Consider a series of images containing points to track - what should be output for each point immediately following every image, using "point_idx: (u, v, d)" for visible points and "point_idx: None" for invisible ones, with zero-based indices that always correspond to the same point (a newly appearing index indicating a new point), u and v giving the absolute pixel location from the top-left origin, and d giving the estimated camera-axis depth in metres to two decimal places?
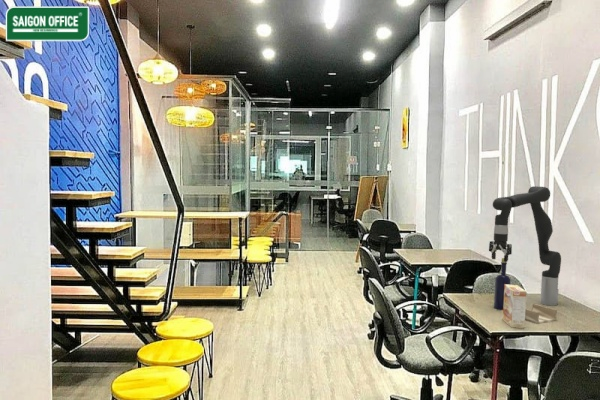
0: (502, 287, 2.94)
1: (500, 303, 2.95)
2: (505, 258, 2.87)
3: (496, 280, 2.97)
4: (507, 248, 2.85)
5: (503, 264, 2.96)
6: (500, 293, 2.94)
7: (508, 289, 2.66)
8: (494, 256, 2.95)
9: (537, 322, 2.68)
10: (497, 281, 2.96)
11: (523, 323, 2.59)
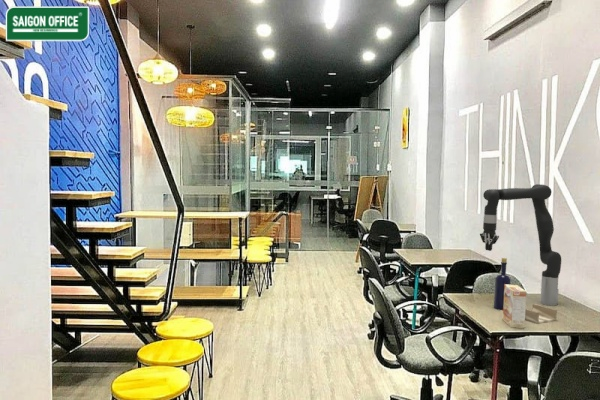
0: (502, 287, 2.94)
1: (500, 303, 2.95)
2: (489, 247, 3.06)
3: (496, 280, 2.97)
4: (493, 239, 3.02)
5: (503, 264, 2.96)
6: (500, 293, 2.94)
7: (508, 289, 2.66)
8: None
9: (537, 322, 2.68)
10: (497, 281, 2.96)
11: (523, 323, 2.59)
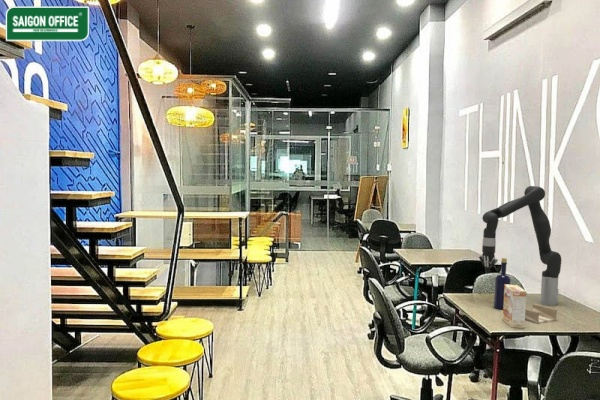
0: (502, 287, 2.94)
1: (500, 303, 2.95)
2: (487, 270, 3.07)
3: (496, 280, 2.97)
4: (492, 262, 3.03)
5: (503, 264, 2.96)
6: (500, 293, 2.94)
7: (508, 289, 2.66)
8: None
9: (537, 322, 2.68)
10: (497, 281, 2.96)
11: (523, 323, 2.59)
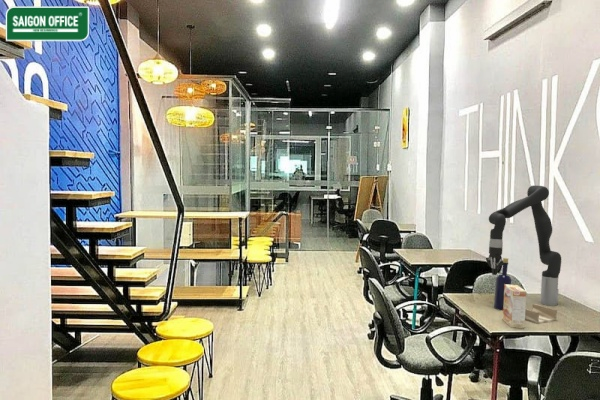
0: (503, 287, 2.93)
1: (501, 303, 2.95)
2: (494, 271, 3.02)
3: (497, 280, 2.96)
4: (499, 263, 2.99)
5: (504, 264, 2.95)
6: (501, 293, 2.94)
7: (508, 289, 2.66)
8: None
9: (537, 322, 2.68)
10: (498, 281, 2.95)
11: (523, 323, 2.59)
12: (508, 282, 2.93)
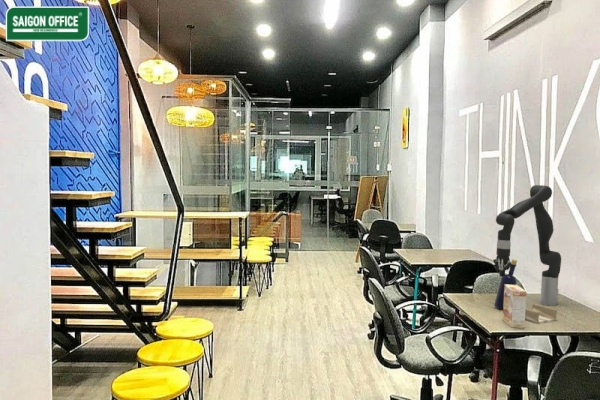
0: None
1: (502, 303, 2.94)
2: (502, 273, 2.97)
3: (502, 280, 2.93)
4: (507, 265, 2.93)
5: (512, 266, 2.90)
6: (503, 293, 2.92)
7: (508, 289, 2.66)
8: None
9: (537, 322, 2.68)
10: (503, 282, 2.92)
11: (523, 323, 2.59)
12: (513, 284, 2.90)
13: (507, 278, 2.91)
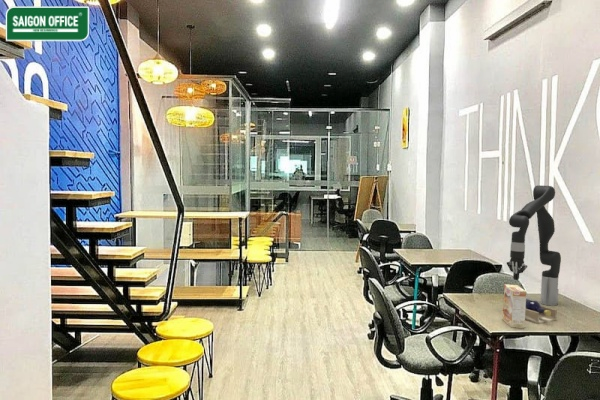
0: None
1: None
2: (516, 276, 2.88)
3: (533, 300, 2.79)
4: (521, 268, 2.85)
5: (543, 310, 2.69)
6: None
7: (508, 289, 2.66)
8: None
9: (537, 322, 2.68)
10: (531, 300, 2.80)
11: (523, 323, 2.59)
12: None
13: (532, 304, 2.76)
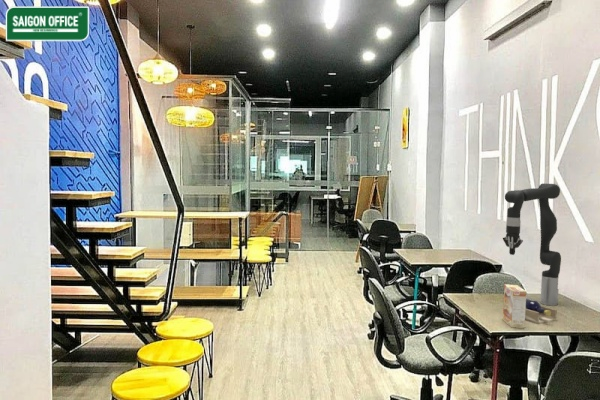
0: None
1: None
2: (512, 251, 2.93)
3: (533, 300, 2.79)
4: (517, 243, 2.89)
5: (543, 310, 2.69)
6: None
7: (508, 289, 2.66)
8: None
9: (537, 322, 2.68)
10: (531, 300, 2.80)
11: (523, 323, 2.59)
12: None
13: (532, 304, 2.76)
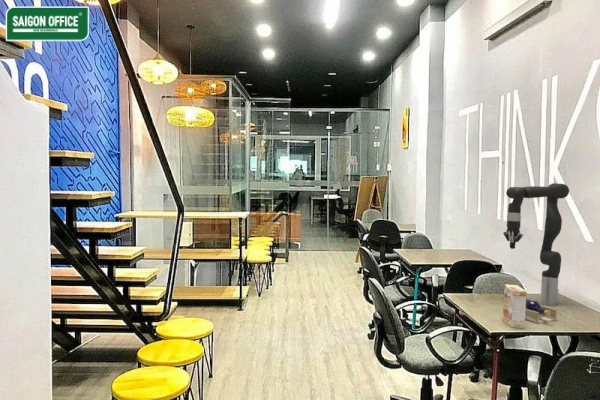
0: None
1: None
2: (512, 245, 3.03)
3: (533, 300, 2.79)
4: (517, 237, 2.99)
5: (543, 310, 2.69)
6: None
7: (508, 289, 2.66)
8: None
9: (537, 322, 2.68)
10: (531, 300, 2.80)
11: (523, 323, 2.59)
12: None
13: (532, 304, 2.76)
